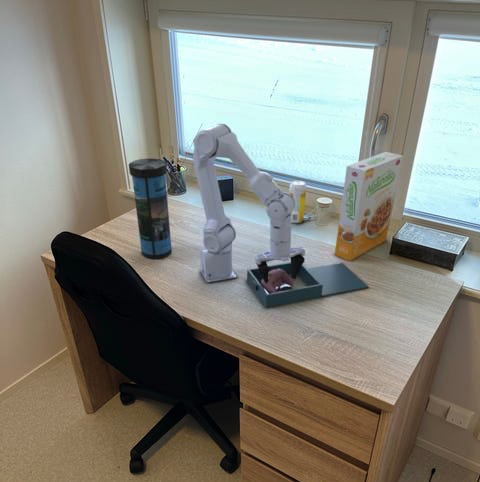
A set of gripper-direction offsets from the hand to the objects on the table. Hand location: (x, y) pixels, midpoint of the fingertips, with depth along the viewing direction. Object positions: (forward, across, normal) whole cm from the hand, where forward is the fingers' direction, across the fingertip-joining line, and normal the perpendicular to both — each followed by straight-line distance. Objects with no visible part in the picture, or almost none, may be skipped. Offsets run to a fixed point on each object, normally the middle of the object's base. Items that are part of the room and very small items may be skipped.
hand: (279, 281), depth 135 cm
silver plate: (+3, -1, 0) cm, 3 cm away
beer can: (+3, +26, +45) cm, 52 cm away
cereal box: (+4, +38, +17) cm, 42 cm away
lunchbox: (+4, +9, +1) cm, 10 cm away
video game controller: (+3, 0, 0) cm, 3 cm away
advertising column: (+2, -30, +36) cm, 47 cm away
